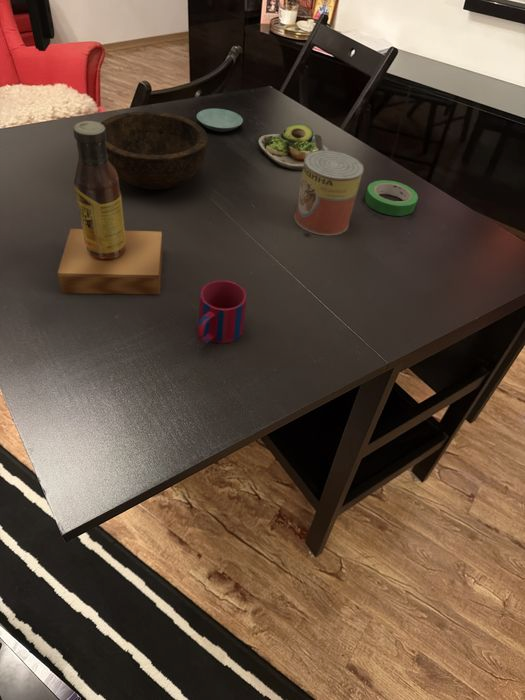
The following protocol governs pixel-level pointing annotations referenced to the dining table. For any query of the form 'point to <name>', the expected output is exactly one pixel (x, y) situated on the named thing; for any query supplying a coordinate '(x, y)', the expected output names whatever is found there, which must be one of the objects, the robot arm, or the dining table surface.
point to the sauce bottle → (98, 193)
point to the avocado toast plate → (291, 146)
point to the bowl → (154, 148)
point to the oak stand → (113, 266)
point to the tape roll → (387, 205)
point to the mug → (221, 312)
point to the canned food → (327, 192)
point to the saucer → (219, 119)
